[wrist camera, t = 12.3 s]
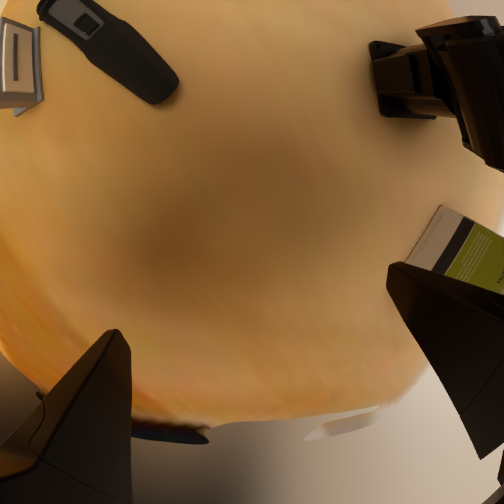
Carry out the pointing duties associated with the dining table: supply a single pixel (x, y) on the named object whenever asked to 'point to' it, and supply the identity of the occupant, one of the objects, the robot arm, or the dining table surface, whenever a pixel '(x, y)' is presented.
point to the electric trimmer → (112, 47)
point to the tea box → (461, 250)
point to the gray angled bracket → (19, 66)
